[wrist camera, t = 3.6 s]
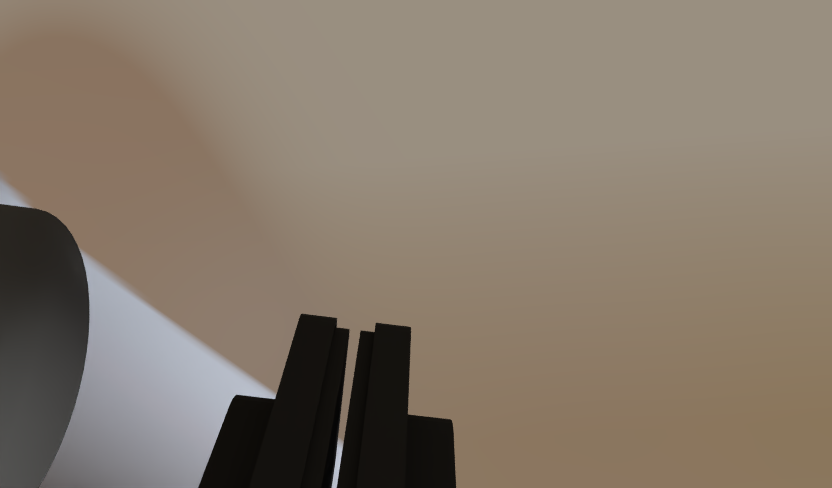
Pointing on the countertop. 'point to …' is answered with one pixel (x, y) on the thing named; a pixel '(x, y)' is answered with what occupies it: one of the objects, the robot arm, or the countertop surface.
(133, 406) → the countertop surface
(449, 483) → the robot arm
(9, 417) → the shaft
